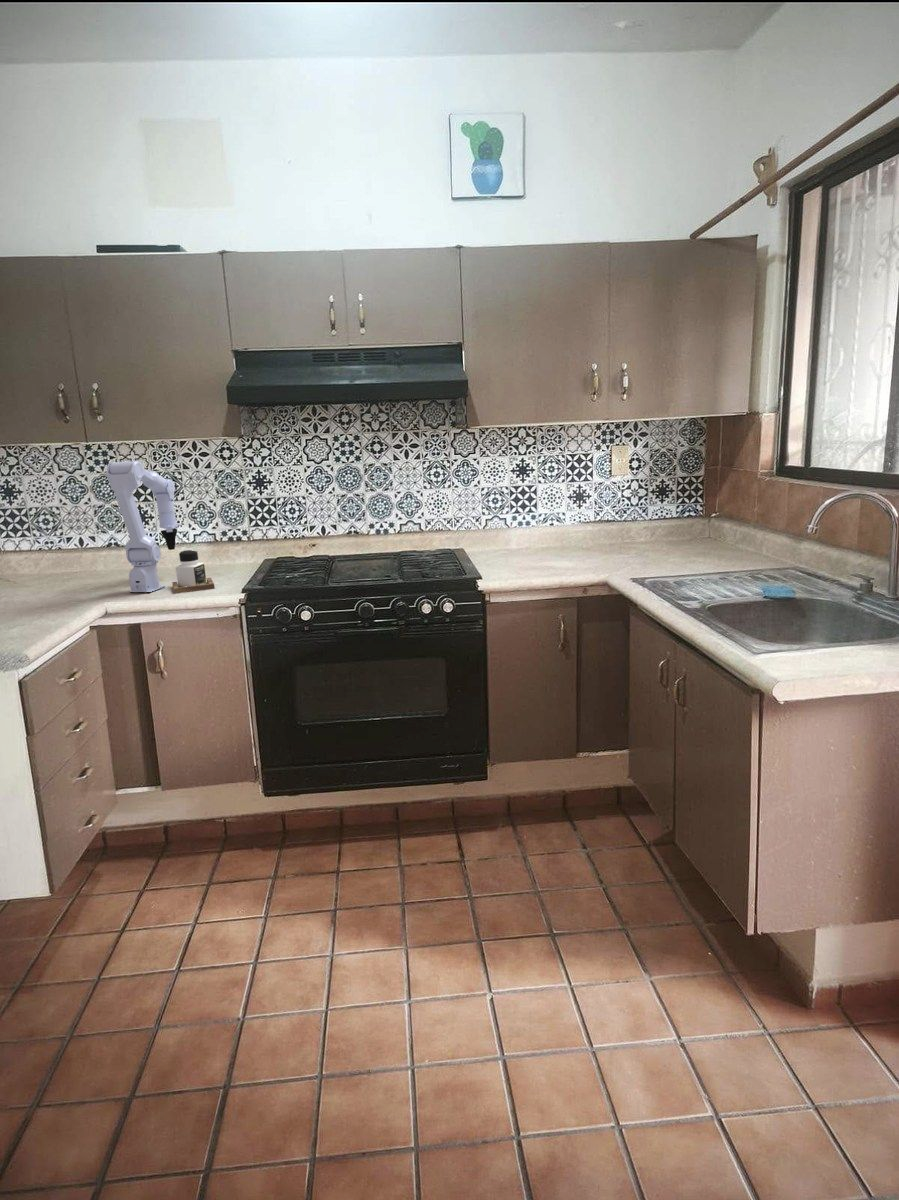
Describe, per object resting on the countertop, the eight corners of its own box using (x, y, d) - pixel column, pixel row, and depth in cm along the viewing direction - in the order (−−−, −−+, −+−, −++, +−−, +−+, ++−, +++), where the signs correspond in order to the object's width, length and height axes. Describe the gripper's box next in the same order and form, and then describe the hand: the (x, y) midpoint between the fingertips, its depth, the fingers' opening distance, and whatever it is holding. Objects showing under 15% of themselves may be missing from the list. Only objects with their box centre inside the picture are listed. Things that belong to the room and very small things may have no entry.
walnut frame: (172, 586, 269) (172, 582, 268) (211, 581, 273) (210, 577, 273) (174, 593, 257) (173, 589, 257) (214, 588, 262) (214, 584, 262)
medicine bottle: (196, 586, 266) (192, 552, 263) (177, 586, 268) (173, 552, 265) (206, 582, 273) (202, 548, 270) (188, 582, 274) (184, 549, 271)
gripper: (179, 513, 274) (184, 551, 277) (177, 509, 287) (181, 545, 290) (158, 515, 271) (163, 553, 274) (156, 511, 284) (162, 547, 288)
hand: (171, 549), depth 282 cm, fingers closed
